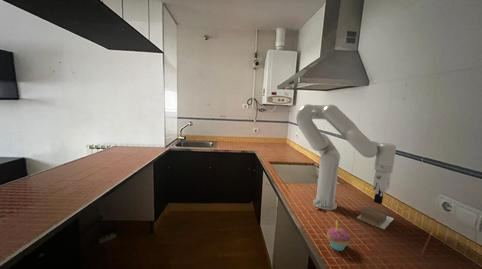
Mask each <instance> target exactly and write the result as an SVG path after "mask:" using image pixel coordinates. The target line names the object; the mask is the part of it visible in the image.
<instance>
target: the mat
mask: <svg viewBox="0 0 482 269" xmlns="http://www.w3.org/2000/svg"><path fill="white" fill-rule="evenodd" d="M360 216H361V214H359V215H358V216H357V217H356V219H358V220H360ZM394 219H395V218H393V217H391V216H388V215H387V219H386V220H385V221H384V223H383V224H382V225H381V226H380V227H379V228H380V229H383V230H385V229H386V228H387V227H388V226H389V225H390V224H391V223H392V221H393V220H394Z"/></svg>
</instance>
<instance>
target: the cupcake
mask: <svg viewBox="0 0 482 269" xmlns="http://www.w3.org/2000/svg"><path fill="white" fill-rule="evenodd" d="M338 226H339V221H338V219H336V220H335V227H331V228H329V229H327V231H326V237H327V239H328V240H329V244H330V247H331V248H332V249H334V250H335V251H339V252H342V251H344V249H345V248H346V247H347V245H350V243H351V236H350V234H348V232H347V231H345V229H344V228H343V229H342V228H340V227H338Z"/></svg>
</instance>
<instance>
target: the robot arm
mask: <svg viewBox="0 0 482 269" xmlns="http://www.w3.org/2000/svg"><path fill="white" fill-rule="evenodd" d="M313 120H325V121H326V122H327V123H329V124H330V125H331V126H332V128H334V129H335V131H337V132H338V133H339V134H340V135H341V137H343V138H344V139H345V140H346V141H347V143H349V144H350V145H351V146H352V148H354V149H355V150H356V151H357V153H359V154H360V155H361V156H362V157H364V158H368V159H370V158H374V157H375V158H374V159H375V161H374V167H373V170H374V171H375V173H374V178H373V182H372V189H373V191H374V199H373V202H374V203H375V204H378V205H382V204H383V200H384V194H385V193H386V192H387V191H388V190H389V189H390V183H391V175H392V173H393V170H394V164H395V159H396V151H397V146H396V145H395V144H393V143H388V142H377V141H372V140H370V139H369V138H368V137H367V136H366V135H365V134H364V133H363V132H362V131H361V130H360V129H359V127H358V126H357V124H356V123H354V121H352V120H351V119H350V118H349V117H348V116H347V115H346V114H345V113H344V112H343V111H342V110H341V109H340V108H339V107H338V106H337V105H335V104H327V105H326V104H321V105H320V104H319V105H318V104H304V105H302V106H300V107H299V110H298V111H297V113H296V124H297V127H298V129H299V131H300V132H301V133H302V135H303V136H304V138H305V140H306V141H307V143H308V144H309V145H310V147H311V149H312V150H313V151H316V152H318V153H319V154H320V158H319V166H318V167H319V170H318V180H317V189H316V197H315V198H314V199H313V201H312V205H313V206H315V207H317V208H319V209H321V210H326V211H334V210H336V209H337V207H338V205H337V204H336V203H335V199H336V191H337V190H336V189H337V184H338V175H339V174H338V173H339V164H340V160H341V154H340V152H339V150H338V149H337V148H336V146H335V145H334V143H333V141H331V138H329V136H327V135H326V134H325V133H322V132H321V131H320V130H319V128H318V127H317V125H316V124H315V122H314V121H313Z"/></svg>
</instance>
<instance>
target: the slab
mask: <svg viewBox="0 0 482 269" xmlns="http://www.w3.org/2000/svg"><path fill="white" fill-rule="evenodd" d="M360 215H361V216H360V219H359V221H362V222H365V223H367V224H369V225H371V226H373V227H377V228H380V226H381V225H382V224H383V223H384V221H385V220H386V219H387V216H388V211H385V210H383V209H380V208H377V207H374V206H371V205H369V206H367V207H366V208H364V209H363V210H362V211H360Z"/></svg>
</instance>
